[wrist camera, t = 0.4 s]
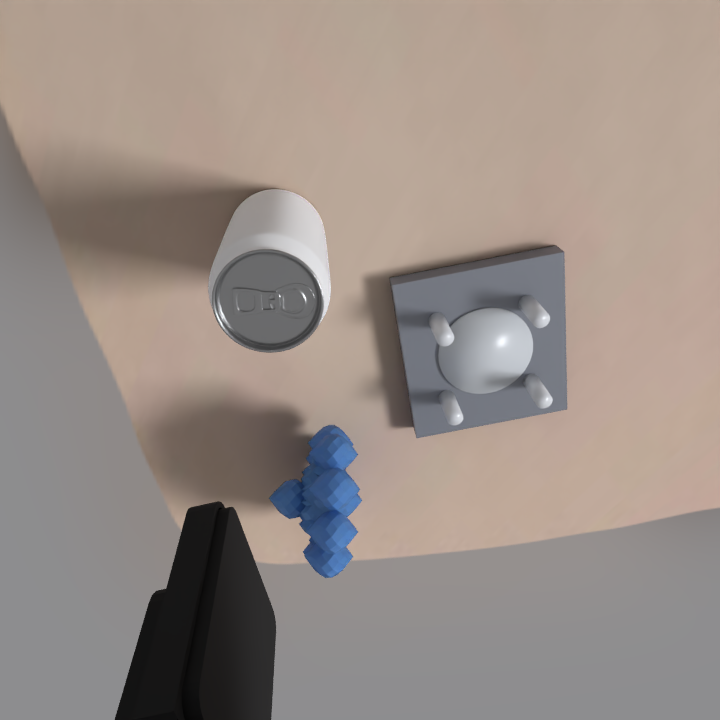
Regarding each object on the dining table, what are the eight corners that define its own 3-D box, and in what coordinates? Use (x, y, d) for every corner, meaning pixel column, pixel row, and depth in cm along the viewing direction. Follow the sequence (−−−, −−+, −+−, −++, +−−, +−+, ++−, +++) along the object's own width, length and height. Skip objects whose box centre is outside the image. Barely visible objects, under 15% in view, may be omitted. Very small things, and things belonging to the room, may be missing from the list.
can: (325, 280, 44) (332, 359, 33) (232, 281, 43) (208, 360, 32) (325, 187, 41) (333, 241, 30) (225, 186, 40) (197, 240, 29)
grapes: (275, 386, 47) (266, 488, 37) (363, 390, 48) (379, 490, 37) (270, 505, 52) (262, 624, 42) (350, 507, 53) (361, 623, 43)
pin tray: (389, 277, 44) (397, 302, 40) (556, 245, 44) (581, 266, 40) (413, 427, 50) (423, 461, 46) (560, 399, 50) (582, 430, 46)
